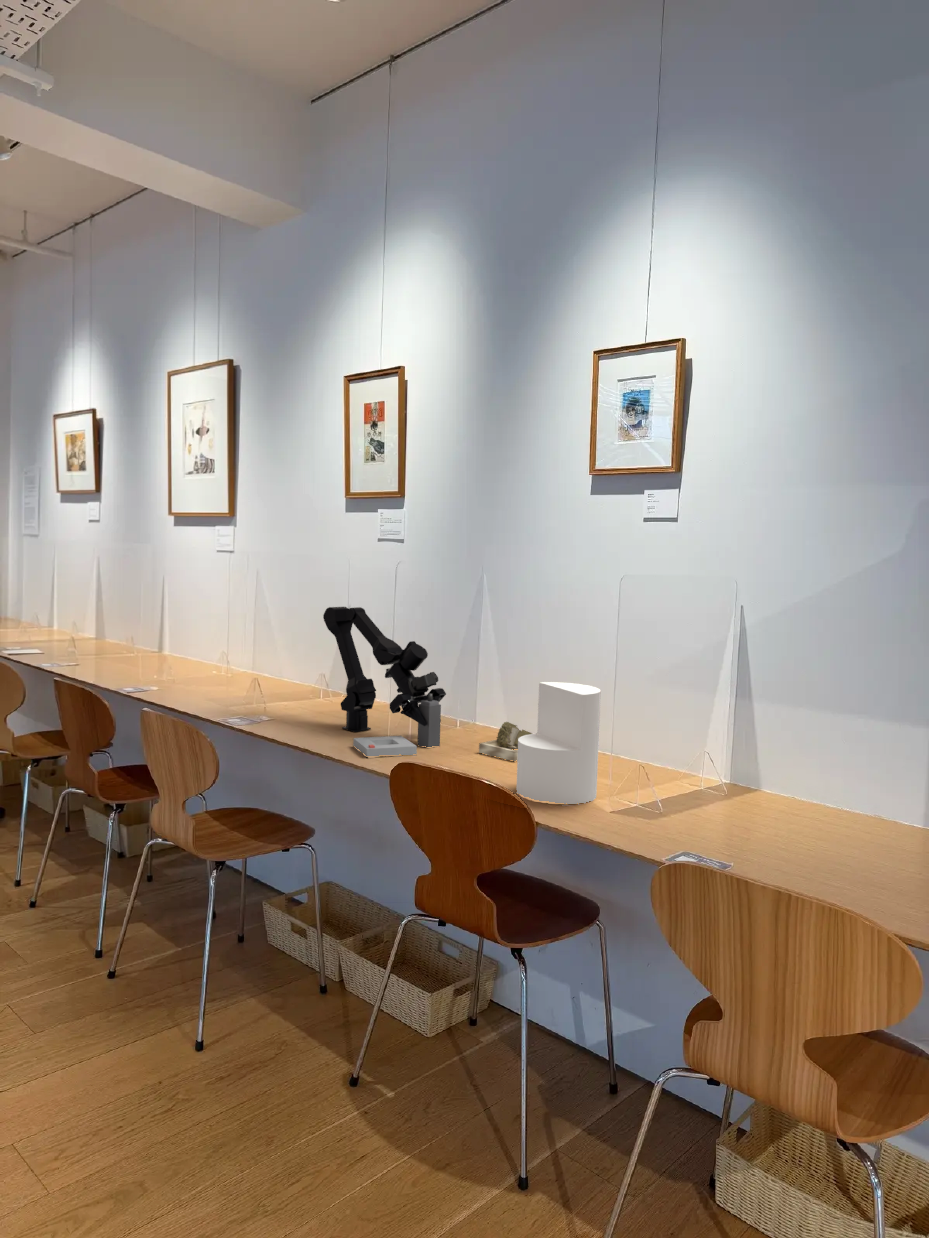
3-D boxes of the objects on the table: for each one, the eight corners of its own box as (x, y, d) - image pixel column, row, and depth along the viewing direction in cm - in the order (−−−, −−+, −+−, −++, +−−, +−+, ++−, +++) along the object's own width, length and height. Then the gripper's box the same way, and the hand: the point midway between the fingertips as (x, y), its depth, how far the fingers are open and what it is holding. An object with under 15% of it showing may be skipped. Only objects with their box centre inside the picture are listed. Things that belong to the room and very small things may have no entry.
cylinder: (572, 780, 225) (576, 681, 223) (611, 801, 208) (616, 693, 206) (503, 786, 218) (506, 683, 216) (537, 808, 201) (541, 696, 199)
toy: (553, 739, 252) (509, 722, 261) (542, 735, 247) (498, 718, 256) (543, 764, 252) (500, 746, 260) (532, 761, 246) (488, 742, 255)
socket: (353, 746, 255) (353, 736, 255) (400, 744, 260) (401, 733, 260) (366, 758, 242) (367, 747, 242) (416, 755, 247) (416, 744, 247)
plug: (417, 745, 259) (418, 693, 258) (428, 743, 262) (430, 692, 261) (428, 748, 256) (429, 695, 255) (439, 746, 259) (441, 694, 258)
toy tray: (478, 753, 251) (479, 743, 251) (527, 742, 266) (528, 733, 266) (514, 762, 242) (514, 751, 242) (563, 750, 257) (563, 740, 257)
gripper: (397, 666, 252) (425, 710, 246) (442, 660, 267) (469, 702, 261) (377, 690, 258) (404, 734, 252) (421, 683, 272) (448, 725, 266)
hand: (432, 723), depth 258 cm, fingers open, 6 cm apart
